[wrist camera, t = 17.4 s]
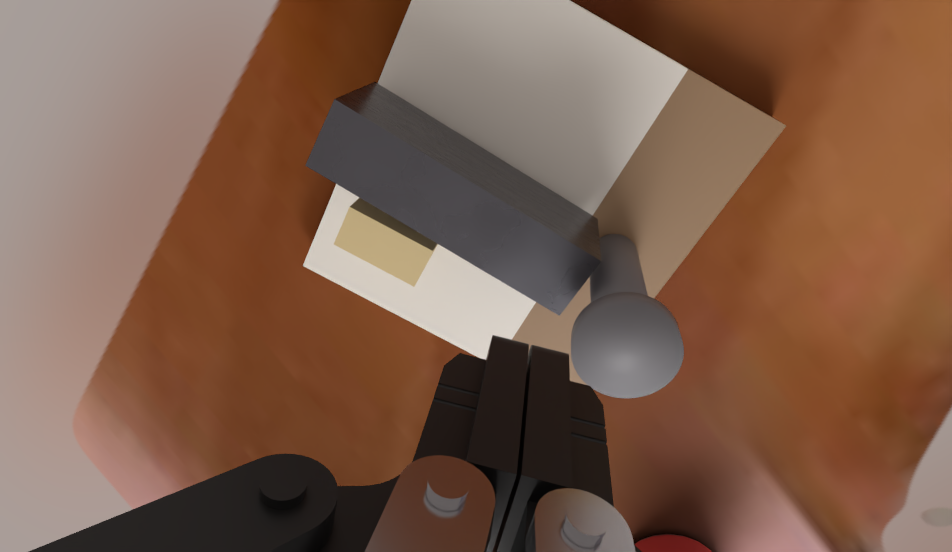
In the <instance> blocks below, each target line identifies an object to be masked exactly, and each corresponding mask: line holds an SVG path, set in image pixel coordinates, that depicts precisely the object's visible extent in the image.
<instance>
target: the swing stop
mask: <svg viewBox="0 0 952 552" xmlns="http://www.w3.org/2000/svg"><path fill="white" fill-rule="evenodd" d="M305 166H307V167H309V168H310V169H312V170H314V171H316V172H317V173H319V174H321V175H322V176H324V177H326V178H327V179H329V180H331V181H332V182H334V183H336V184H338V185H339V186H341V187H343V188H344V189H346V190H348V191H349V192H351V193H353V194H354V195H356V196H358V197H359V198H361V199H363V200H365V201H366V202H368V203H370V204H371V205H373V206H375V207H376V208H378V209H380V210H381V211H383V212H385V213H386V214H388V215H390V216H392V217H393V218H395V219H397V220H398V221H400V222H402V223H403V224H405V225H407V226H408V227H410V228H412V229H414V230H415V231H417V232H419V233H420V234H422V235H424V236H425V237H427V238H429V239H430V240H432V241H434V242H435V243H437V244H439V245H441V246H442V247H444V248H446V249H447V250H449V251H451V252H452V253H454V254H456V255H457V256H459V257H461V258H462V259H464V260H466V261H468V262H469V263H471V264H473V265H474V266H476V267H478V268H479V269H481V270H483V271H484V272H486V273H488V274H489V275H491V276H493V277H495V278H496V279H498V280H500V281H501V282H503V283H505V284H506V285H508V286H510V287H511V288H513V289H515V290H517V291H518V292H520V293H522V294H523V295H525V296H527V297H528V298H530V299H532V300H533V301H535V302H537V303H538V304H540V305H542V306H544V307H545V308H547V309H549V310H550V311H552V312H554V313H555V314H557V315H559V316H560V315H561V313H562V312H563V311H564V309H565V308H566V307H567V305H568V304H569V303H570V302H571V300H572V299H573V298H574V296H575V295H576V294H577V292H578V291H579V290H580V289H581V287H582V286H583V285H584V283H585V282H586V281H587V279H588V278H589V277H590V275H591V274H592V273H593V272H594V270H595V269H596V268H597V266H598V265H599V264H600V262H601V250H600V239H599V228H598V219H597V218H596V217H594V216H593V215H591V214H589V213H588V212H586V211H584V210H583V209H581V208H579V207H578V206H576V205H575V204H573V203H571V202H570V201H568V200H566V199H565V198H563V197H562V196H560V195H558V194H557V193H555V192H553V191H552V190H550V189H549V188H547V187H545V186H544V185H542V184H540V183H539V182H537V181H536V180H534V179H532V178H531V177H529V176H527V175H526V174H524V173H523V172H521V171H519V170H518V169H516V168H514V167H513V166H511V165H510V164H508V163H506V162H505V161H503V160H501V159H500V158H498V157H496V156H495V155H493V154H492V153H490V152H488V151H487V150H485V149H483V148H482V147H480V146H479V145H477V144H475V143H474V142H472V141H470V140H469V139H467V138H466V137H464V136H462V135H461V134H459V133H457V132H456V131H454V130H453V129H451V128H449V127H448V126H446V125H444V124H443V123H441V122H440V121H438V120H436V119H435V118H433V117H431V116H430V115H428V114H427V113H425V112H423V111H422V110H420V109H418V108H417V107H415V106H413V105H412V104H410V103H409V102H407V101H405V100H404V99H402V98H400V97H399V96H397V95H396V94H394V93H392V92H391V91H389V90H387V89H386V88H384V87H383V86H381V85H379V84H378V83H376V82H373V83H371V84H369V85H366V86H364V87H362V88H359V89H357V90H355V91H352V92H350V93H348V94H345V95H343V96H341V97H338V98H336V99H334V102H333V104H332V106H331V108H330V111H329V113H328V115H327V118H326V120H325V122H324V124H323V127H322V129H321V131H320V133H319V136H318V138H317V140H316V143H315V145H314V147H313V149H312V152H311V154H310V156H309V159H308V161H307V163H306V165H305Z"/></svg>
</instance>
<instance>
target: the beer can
mask: <svg viewBox="0 0 952 552" xmlns="http://www.w3.org/2000/svg"><path fill="white" fill-rule="evenodd" d="M634 545H635V546H636V547H637V548H638V549H640V550H641V551H642V552H712V551H711V550H710V549H708V548H707V547H706V546H704V545H703V544H701V543H700V542H698V541H696V540H693V539H691V538H688V537H685V536H681V535H673V534H662V535H653V536H650V537H647V538H644V539H642V540H640V541H638V542H637V543H635V544H634Z"/></svg>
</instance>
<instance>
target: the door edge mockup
mask: <svg viewBox="0 0 952 552" xmlns="http://www.w3.org/2000/svg"><path fill="white" fill-rule="evenodd" d="M378 84H379V85H381V86H383V87H384V88H386V89H387V90H389V91H391V92H392V93H394V94H396V95H397V96H399V97H400V98H402V99H404V100H405V101H407V102H409V103H410V104H412V105H413V106H415V107H417V108H418V109H420V110H422V111H423V112H425V113H427V114H428V115H430V116H431V117H433V118H435V119H436V120H438V121H440V122H441V123H443V124H444V125H446V126H448V127H449V128H451V129H453V130H454V131H456V132H457V133H459V134H461V135H462V136H464V137H466V138H467V139H469V140H470V141H472V142H474V143H475V144H477V145H479V146H480V147H482V148H483V149H485V150H487V151H488V152H490V153H492V154H493V155H495V156H496V157H498V158H500V159H501V160H503V161H505V162H506V163H508V164H510V165H511V166H513V167H514V168H516V169H518V170H519V171H521V172H523V173H524V174H526V175H527V176H529V177H531V178H532V179H534V180H536V181H537V182H539V183H540V184H542V185H544V186H545V187H547V188H549V189H550V190H552V191H553V192H555V193H557V194H558V195H560V196H562V197H563V198H565V199H566V200H568V201H570V202H571V203H573V204H575V205H576V206H578V207H579V208H581V209H583V210H584V211H586V212H588V213H589V214H591V215H593V216H594V217H596V218H597V219H598V228H599V239H600V250H601V262H600V264H599V265H598V266H597V268H596V269H595V270H594V272H593V273H592V274H591V275H590V277H589V278H588V279H587V281H586V282H585V283H584V285H583V286H582V287H581V289H580V290H579V291H578V292H577V294H576V295H575V296H574V298H573V299H572V300H571V302H570V303H569V304H568V305H567V307H566V308H565V309H564V311H563V312H562V313H561V315H560V316H559V315H557V314H555V313H554V312H552V311H550V310H549V309H547V308H545V307H544V306H542V305H540V304H538V303H537V302H535V301H533V300H532V299H530V298H528V297H527V296H525V295H523V294H522V293H520V292H518V291H517V290H515V289H513V288H511V287H510V286H508V285H506V284H505V283H503V282H501V281H500V280H498V279H496V278H495V277H493V276H491V275H489V274H488V273H486V272H484V271H483V270H481V269H479V268H478V267H476V266H474V265H473V264H471V263H469V262H468V261H466V260H464V259H462V258H461V257H459V256H457V255H456V254H454V253H452V252H451V251H449V250H447V249H446V248H444V247H442V246H441V245H439V244H437V243H435V242H434V241H432V240H430V239H429V238H427V237H425V236H424V235H422V234H420V233H419V232H417V231H415V230H414V229H412V228H410V227H408V226H407V225H405V224H403V223H402V222H400V221H398V220H397V219H395V218H393V217H392V216H390V215H388V214H386V213H385V212H383V211H381V210H380V209H378V208H376V207H375V206H373V205H371V204H370V203H368V202H366V201H365V200H363V199H361V198H359V197H358V196H356V195H354V194H353V193H351V192H349V191H348V190H346V189H344V188H343V187H341V186H339V185H338V184H336V186H335V188H334V191H333V193H332V196H331V198H330V201H329V203H328V206H327V208H326V210H325V213H324V215H323V218H322V220H321V223H320V225H319V228H318V230H317V232H316V235H315V237H314V240H313V242H312V245H311V247H310V250H309V252H308V254H307V257H306V259H305V262H304V264H303V266H304V267H306V268H308V269H310V270H312V271H314V272H316V273H318V274H319V275H321V276H323V277H325V278H327V279H329V280H331V281H333V282H335V283H337V284H339V285H341V286H342V287H344V288H346V289H348V290H350V291H352V292H354V293H356V294H358V295H360V296H362V297H364V298H365V299H367V300H369V301H371V302H373V303H375V304H377V305H379V306H381V307H383V308H385V309H387V310H388V311H390V312H392V313H394V314H396V315H398V316H400V317H402V318H404V319H406V320H408V321H410V322H411V323H413V324H415V325H417V326H419V327H421V328H423V329H425V330H427V331H429V332H431V333H433V334H434V335H436V336H438V337H440V338H442V339H444V340H446V341H448V342H450V343H452V344H454V345H456V346H457V347H459V348H461V349H463V350H465V351H467V352H469V353H471V354H473V355H475V356H477V357H479V358H481V359H485V360H486V358H487V354H488V350H489V346H490V342H491V339H492V335H495V336H499V337H503V338H507V339H511V340H515V341H519V342H523V343H527V344H529V349H530V347H531V345H535V346H539V347H543V348H547V349H551V350H555V351H559V352H563V353H567V354H569V368H570V381H573V382H577V383H581V384H584V385H588V386H591V388H592V389H594V390H596V391H598V392H600V393H602V394H605V395H608V396H611V397H616V398H638V397H642V396H646V395H649V394H652V393H654V392H656V391H658V390H660V389H661V388H663V387H664V386H666V385H667V384H668V383H669V382H670V381H671V380H672V379H673V378H674V377H675V375H676V374H677V373H678V371H679V369H680V367H681V364H682V361H683V356H684V347H683V342H682V338H681V335H680V332H679V328H678V325H677V322H676V320H675V318H674V316H673V315H672V313H671V312H670V311H669V310H668V309H667V308H666V307H665V306H664V305H663V304H662V303H660V302H659V301H657V300H656V299H654V298H655V296H656V295H657V294H658V293H659V291H660V290H661V289H662V287H663V286H664V285H665V283H666V282H667V281H668V279H669V278H670V277H671V276H672V274H673V273H674V272H675V270H676V269H677V268H678V266H679V265H680V264H681V262H682V261H683V260H684V259H685V257H686V256H687V255H688V253H689V252H690V251H691V249H692V248H693V247H694V246H695V244H696V243H697V242H698V240H699V239H700V238H701V236H702V235H703V234H704V232H705V231H706V230H707V229H708V227H709V226H710V225H711V223H712V222H713V221H714V219H715V218H716V217H717V215H718V214H719V213H720V212H721V210H722V209H723V208H724V206H725V205H726V204H727V202H728V201H729V200H730V198H731V197H732V196H733V195H734V193H735V192H736V191H737V189H738V188H739V187H740V185H741V184H742V183H743V182H744V180H745V179H746V178H747V176H748V175H749V174H750V172H751V171H752V170H753V168H754V167H755V166H756V165H757V163H758V162H759V161H760V159H761V158H762V157H763V155H764V154H765V153H766V151H767V150H768V149H769V148H770V146H771V145H772V144H773V142H774V141H775V140H776V138H777V137H778V136H779V134H780V133H781V132H782V131H783V129H784V128H785V127H786V125H784V124H783V123H781V122H779V121H778V120H776V119H775V118H773V117H771V116H770V115H768V114H766V113H764V112H763V111H761V110H759V109H758V108H756V107H754V106H752V105H751V104H749V103H747V102H745V101H744V100H742V99H740V98H738V97H737V96H735V95H733V94H732V93H730V92H728V91H726V90H725V89H723V88H721V87H719V86H718V85H716V84H714V83H713V82H711V81H709V80H707V79H706V78H704V77H702V76H700V75H699V74H697V73H695V72H693V71H692V70H690V69H688V68H687V67H685V66H683V65H681V64H680V63H678V62H676V61H674V60H673V59H671V58H669V57H667V56H666V55H664V54H662V53H661V52H659V51H657V50H655V49H654V48H652V47H650V46H648V45H647V44H645V43H643V42H642V41H640V40H638V39H636V38H635V37H633V36H631V35H629V34H628V33H626V32H624V31H622V30H621V29H619V28H617V27H616V26H614V25H612V24H610V23H609V22H607V21H605V20H603V19H602V18H600V17H598V16H597V15H595V14H593V13H591V12H590V11H588V10H586V9H584V8H583V7H581V6H579V5H577V4H576V3H574V2H572V1H571V0H411V3H410V5H409V8H408V10H407V13H406V15H405V17H404V20H403V22H402V25H401V27H400V30H399V32H398V35H397V37H396V39H395V42H394V44H393V47H392V49H391V52H390V54H389V56H388V59H387V61H386V64H385V66H384V69H383V71H382V74H381V76H380V78H379V81H378Z"/></svg>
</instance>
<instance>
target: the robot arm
mask: <svg viewBox="0 0 952 552" xmlns="http://www.w3.org/2000/svg"><path fill="white" fill-rule="evenodd" d="M604 427H605V420H604V410H603V405H602V403H601V402H600V400H599V399H598V397H597V395H596V394H595V392H594V391H593V389H592V388H591V386H588V385H584V384H581V383H577V382H573V381H570V368H569V354H567V353H563V352H559V351H555V350H551V349H547V348H543V347H539V346H535V345H531V347H530V349H529V344H527V343H523V342H519V341H515V340H511V339H507V338H503V337H499V336H495V335H492V339H491V342H490V346H489V350H488V354H487V358H486V360H485V359H481V358H477V357H473V356H469V355H465V354H461V353H460V354H458V355H457V356H456V357H454V358H453V359H452V360H451V361H449V362H448V363H447V364H446V365H444V368H443V371H442V374H441V377H440V380H439V383H438V386H437V389H436V392H435V395H434V399H433V401H432V405H431V408H430V411H429V414H428V417H427V420H426V423H425V426H424V429H423V432H422V435H421V438H420V441H419V444H418V447H417V450H416V453H415V456H414V459H413V461H412V463H411V464H409V465H408V466H407V467H406V468H405V469H404V470H403V471H402V473H401V474H400V475H399V476H397V477H396V478H393V479H391V480H389V481H387V482H384V483H381V484H376V485H369V486H337V483H336V481H335V478H334V476H333V475H332V474H331V472H330V471H329V470H328V469H327V468H326V467H325V466H324V465H322V464H321V463H319V462H318V461H316V460H314V459H311V458H309V457H305V456H302V455H296V454H276V455H271V456H266V457H263V458H260V459H257V460H255V461H252V462H250V463H247V464H245V465H242V466H240V467H237V468H235V469H232V470H230V471H227V472H225V473H222V474H220V475H217V476H215V477H212V478H210V479H208V480H205V481H203V482H200V483H198V484H195V485H193V486H190V487H188V488H185V489H183V490H180V491H178V492H175V493H173V494H170V495H168V496H165V497H163V498H160V499H158V500H155V501H153V502H151V503H148V504H146V505H143V506H141V507H138V508H136V509H133V510H131V511H129V512H126V513H123V514H121V515H118V516H116V517H113V518H111V519H109V520H106V521H103V522H101V523H99V524H96V525H94V526H91V527H89V528H86V529H84V530H81V531H79V532H76V533H74V534H71V535H69V536H66V537H64V538H61V539H59V540H56V541H54V542H51V543H49V544H47V545H44V546H42V547H39V548H37V549H34V550H32V551H29V552H642V551H641V550H640V549H638V548H637V547H636V546H635V545H634V542H633V537H632V534H631V531H630V528H629V526H628V524H627V522H626V521H625V520H624V518H623V517H622V515H621V514H620V513H619V512H618V511H617V510H616V509H615V508H614V506H613V496H612V487H611V477H610V468H609V458H608V448H607V445H606V442H607V439H606V429H604Z"/></svg>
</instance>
